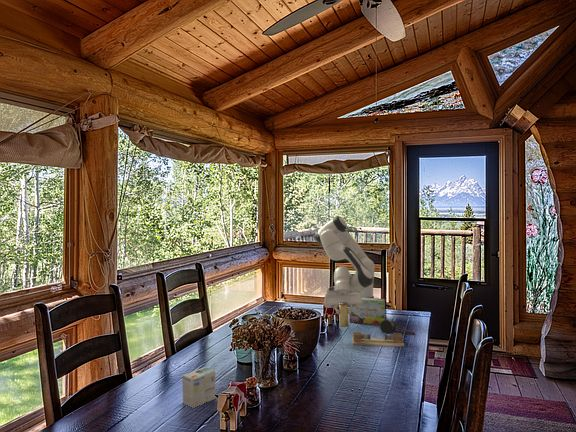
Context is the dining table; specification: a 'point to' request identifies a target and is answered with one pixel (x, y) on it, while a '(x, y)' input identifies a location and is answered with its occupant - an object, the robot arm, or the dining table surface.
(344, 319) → the coupler
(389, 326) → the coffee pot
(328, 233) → the robot arm
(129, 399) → the dining table surface
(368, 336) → the shaft rig
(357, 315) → the snack box
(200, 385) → the light bulb box
